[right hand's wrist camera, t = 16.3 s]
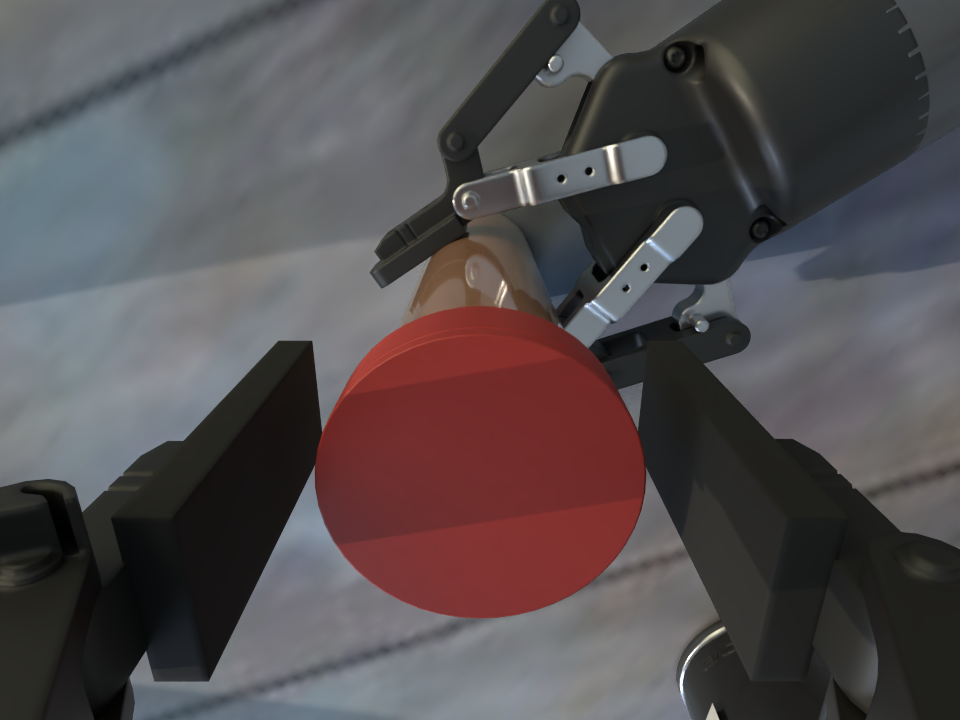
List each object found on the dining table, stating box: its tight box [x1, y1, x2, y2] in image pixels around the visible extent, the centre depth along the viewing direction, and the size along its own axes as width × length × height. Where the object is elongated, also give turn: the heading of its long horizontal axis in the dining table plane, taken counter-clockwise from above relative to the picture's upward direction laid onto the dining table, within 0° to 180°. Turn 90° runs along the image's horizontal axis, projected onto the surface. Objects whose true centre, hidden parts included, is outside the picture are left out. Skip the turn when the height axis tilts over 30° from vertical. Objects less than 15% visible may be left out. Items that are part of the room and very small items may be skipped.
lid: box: [315, 306, 646, 618], centre depth 11 cm, size 6×6×2 cm
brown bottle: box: [398, 213, 563, 329], centre depth 19 cm, size 5×5×18 cm
